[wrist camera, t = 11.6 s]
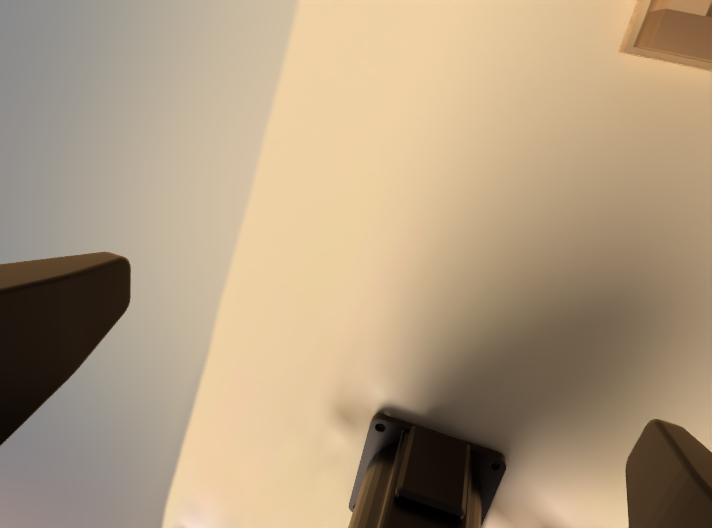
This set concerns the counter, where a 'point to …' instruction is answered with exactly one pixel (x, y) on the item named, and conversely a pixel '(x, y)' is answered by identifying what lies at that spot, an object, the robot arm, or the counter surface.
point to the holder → (672, 32)
